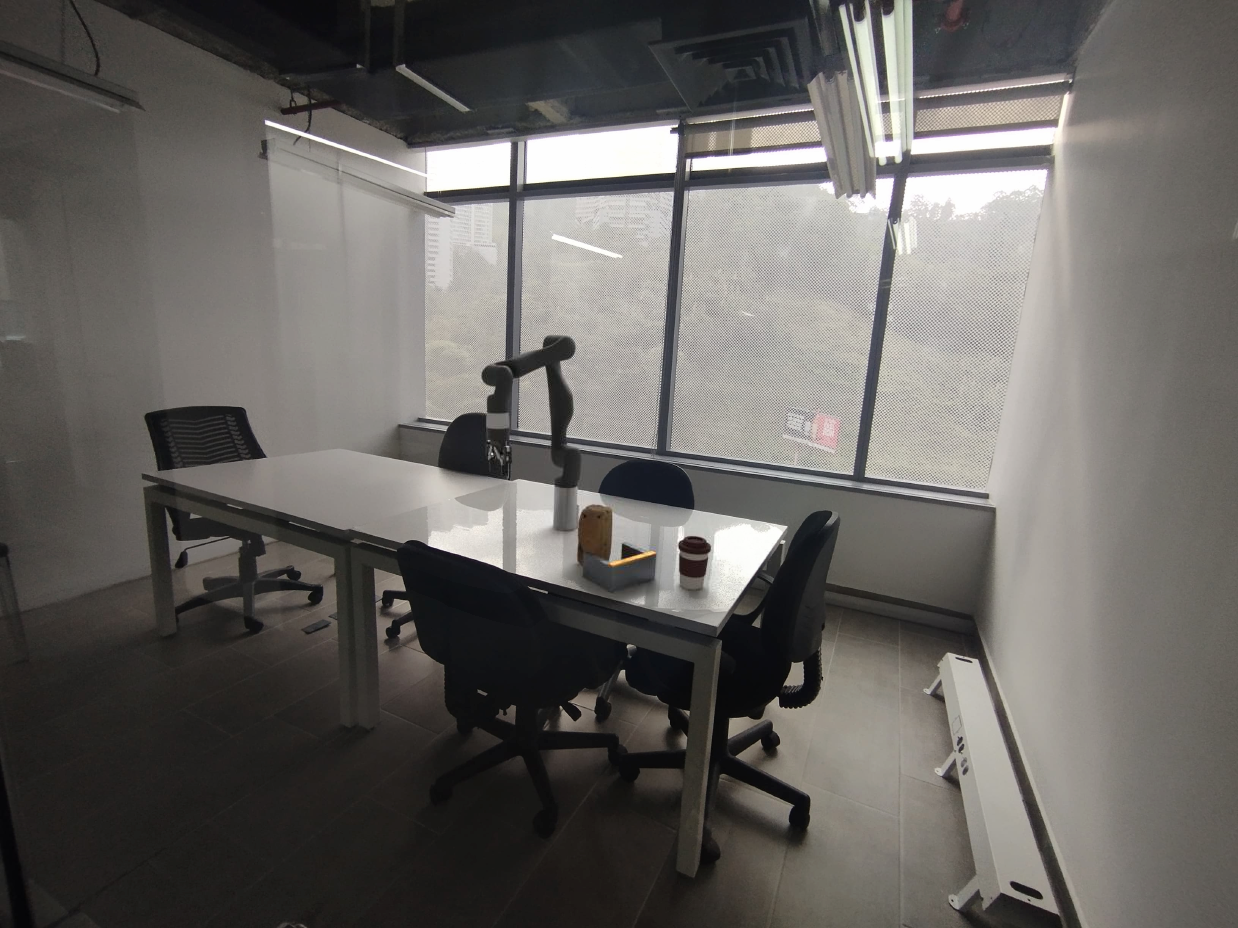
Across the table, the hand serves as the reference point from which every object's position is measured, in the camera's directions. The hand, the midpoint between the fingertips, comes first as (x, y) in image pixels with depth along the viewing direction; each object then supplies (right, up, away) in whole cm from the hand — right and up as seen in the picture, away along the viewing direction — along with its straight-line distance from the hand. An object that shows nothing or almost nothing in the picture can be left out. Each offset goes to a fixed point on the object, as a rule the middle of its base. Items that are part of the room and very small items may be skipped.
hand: (498, 473), depth 180 cm
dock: (+40, -33, -13) cm, 53 cm away
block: (+32, -31, -4) cm, 45 cm away
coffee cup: (+63, -35, -16) cm, 74 cm away
